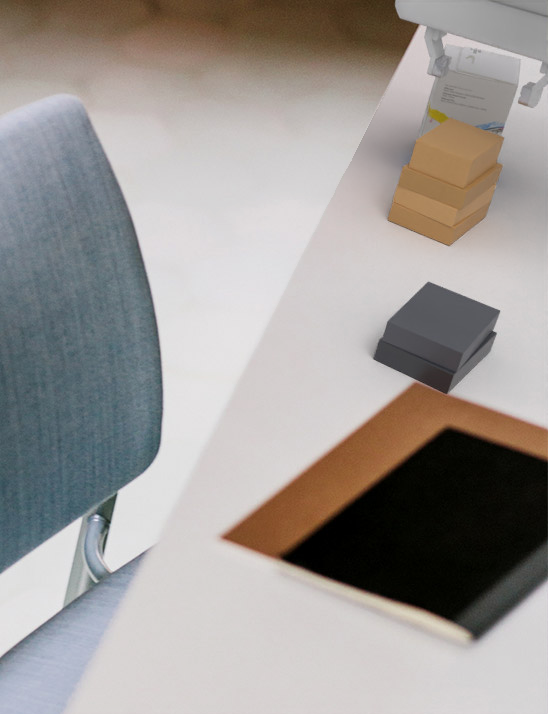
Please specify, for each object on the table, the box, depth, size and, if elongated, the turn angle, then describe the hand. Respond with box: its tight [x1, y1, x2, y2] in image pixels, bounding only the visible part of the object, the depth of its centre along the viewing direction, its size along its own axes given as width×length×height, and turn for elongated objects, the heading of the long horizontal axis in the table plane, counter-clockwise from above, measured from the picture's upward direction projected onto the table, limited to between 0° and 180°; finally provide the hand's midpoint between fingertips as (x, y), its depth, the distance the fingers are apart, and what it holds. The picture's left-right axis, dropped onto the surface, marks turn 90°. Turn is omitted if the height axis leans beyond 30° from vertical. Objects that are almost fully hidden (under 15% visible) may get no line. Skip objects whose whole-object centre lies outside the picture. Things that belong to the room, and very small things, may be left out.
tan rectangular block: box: [409, 118, 505, 189], centre depth 119 cm, size 6×8×3 cm
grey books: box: [373, 281, 501, 395], centre depth 102 cm, size 7×9×4 cm
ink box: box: [416, 43, 522, 140], centre depth 131 cm, size 9×8×12 cm
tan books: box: [387, 161, 504, 247], centre depth 122 cm, size 7×9×6 cm
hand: (481, 89), depth 115 cm, fingers open, 8 cm apart
